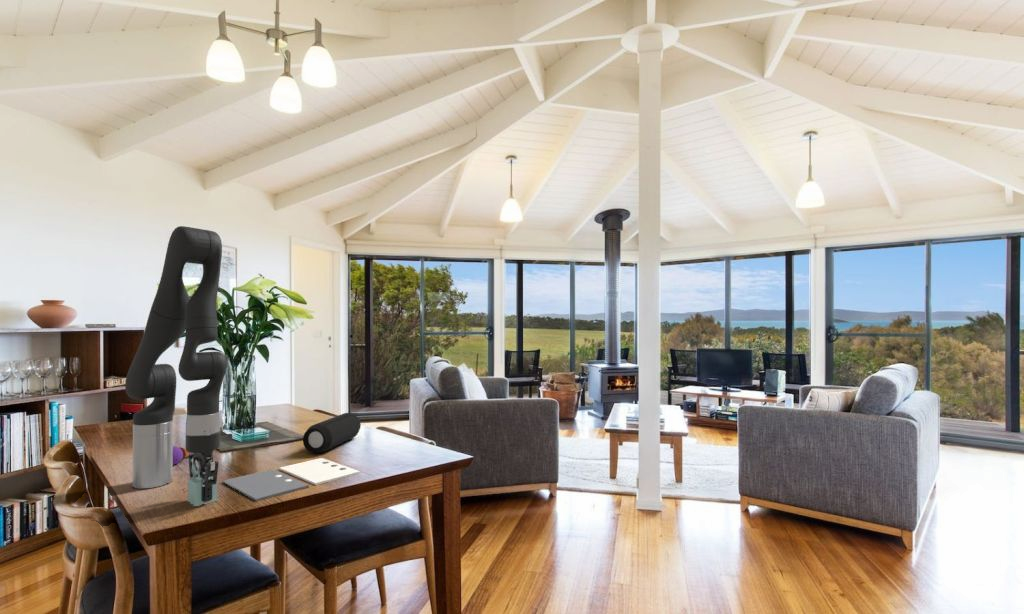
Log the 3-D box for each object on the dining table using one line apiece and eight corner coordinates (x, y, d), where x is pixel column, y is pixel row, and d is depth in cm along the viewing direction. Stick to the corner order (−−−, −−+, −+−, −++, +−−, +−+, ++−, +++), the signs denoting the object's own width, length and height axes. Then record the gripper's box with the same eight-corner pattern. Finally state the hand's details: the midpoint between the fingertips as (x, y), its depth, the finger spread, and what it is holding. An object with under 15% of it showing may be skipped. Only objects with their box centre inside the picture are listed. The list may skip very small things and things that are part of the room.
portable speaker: (339, 437, 199) (339, 411, 199) (362, 438, 197) (363, 412, 197) (300, 454, 174) (300, 425, 174) (327, 456, 172) (327, 426, 172)
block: (188, 502, 130) (188, 478, 130) (209, 496, 134) (210, 473, 134) (195, 507, 127) (195, 482, 127) (217, 501, 130) (217, 477, 130)
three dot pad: (278, 469, 157) (279, 467, 157) (321, 459, 167) (321, 457, 167) (315, 485, 142) (315, 482, 142) (359, 473, 153) (359, 471, 153)
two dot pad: (222, 482, 145) (222, 480, 145) (272, 471, 155) (272, 469, 155) (256, 501, 130) (256, 498, 130) (308, 487, 141) (308, 484, 141)
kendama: (220, 439, 179) (174, 450, 159) (216, 457, 178) (169, 469, 159) (205, 436, 180) (158, 446, 160) (201, 453, 179) (153, 465, 160)
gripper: (176, 429, 132) (176, 495, 132) (196, 438, 123) (196, 509, 123) (208, 424, 138) (208, 488, 138) (230, 432, 128) (229, 500, 128)
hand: (202, 498), depth 130 cm, fingers closed on block, 5 cm apart
